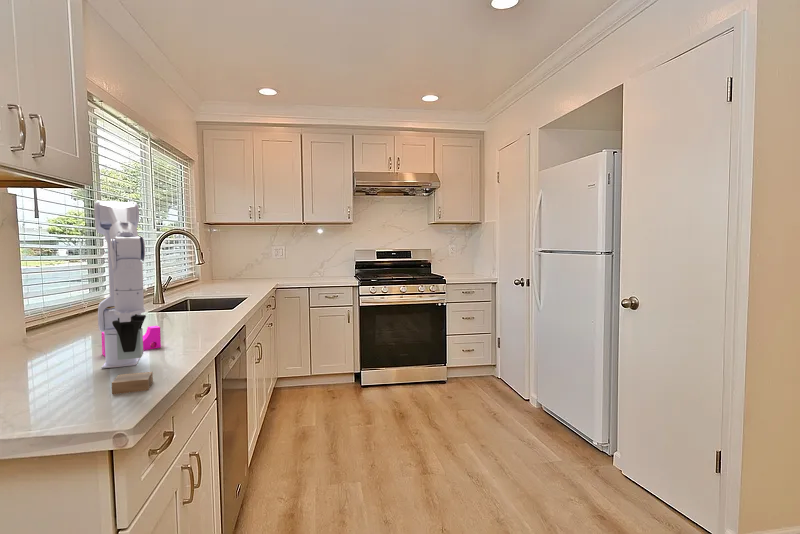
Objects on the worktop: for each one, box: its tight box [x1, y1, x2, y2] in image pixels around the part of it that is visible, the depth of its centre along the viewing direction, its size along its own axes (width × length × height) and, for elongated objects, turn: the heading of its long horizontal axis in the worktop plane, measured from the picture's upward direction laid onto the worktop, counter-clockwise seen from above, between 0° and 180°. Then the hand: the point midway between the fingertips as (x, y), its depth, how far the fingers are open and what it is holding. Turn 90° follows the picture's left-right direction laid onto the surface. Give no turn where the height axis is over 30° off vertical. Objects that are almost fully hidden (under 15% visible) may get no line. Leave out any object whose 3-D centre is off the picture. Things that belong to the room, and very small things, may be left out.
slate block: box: [117, 327, 144, 360], centre depth 104 cm, size 4×4×6 cm
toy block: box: [100, 325, 162, 357], centre depth 140 cm, size 15×6×8 cm, turn 132°
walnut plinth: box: [111, 371, 154, 395], centre depth 104 cm, size 7×7×3 cm
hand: (130, 349), depth 104 cm, fingers closed on slate block, 4 cm apart
